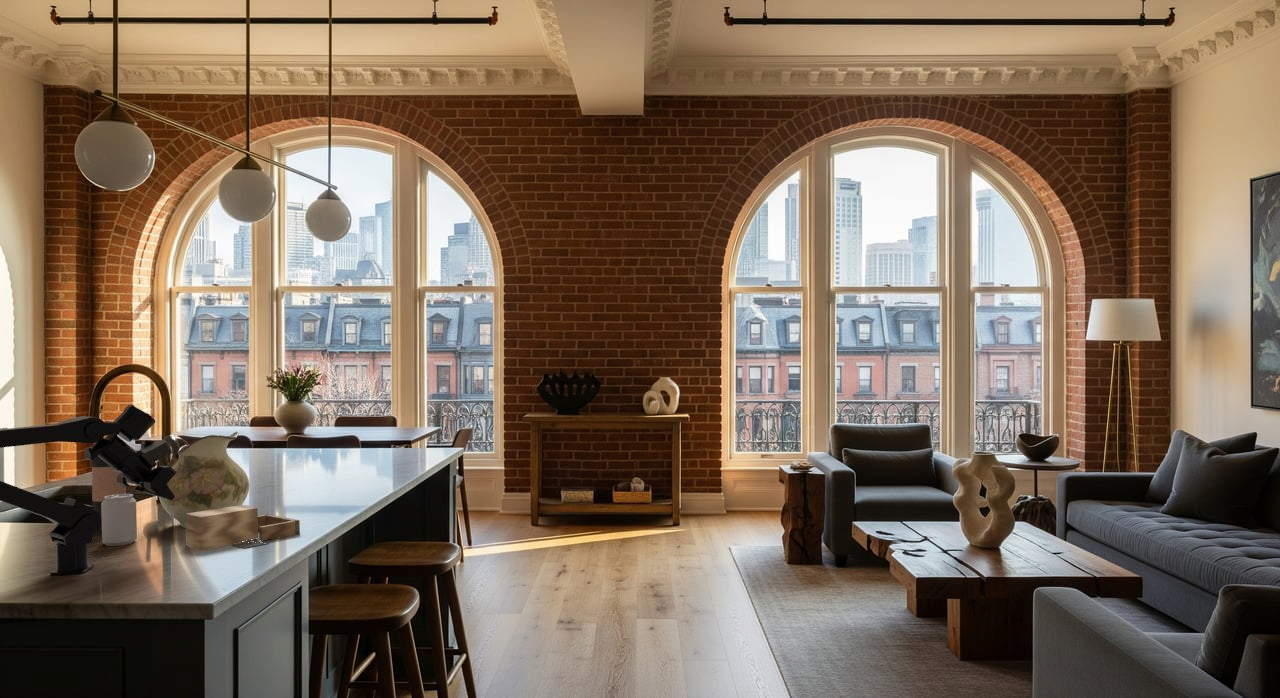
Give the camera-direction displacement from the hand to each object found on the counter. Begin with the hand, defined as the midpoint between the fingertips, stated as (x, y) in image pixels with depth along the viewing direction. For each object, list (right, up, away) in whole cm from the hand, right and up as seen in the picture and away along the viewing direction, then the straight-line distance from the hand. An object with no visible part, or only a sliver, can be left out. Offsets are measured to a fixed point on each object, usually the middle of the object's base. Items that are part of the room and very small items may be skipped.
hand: (172, 498), depth 208 cm
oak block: (+7, -13, +9) cm, 17 cm away
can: (-19, -13, +10) cm, 25 cm away
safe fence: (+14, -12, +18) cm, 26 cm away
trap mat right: (+16, -12, +6) cm, 21 cm away
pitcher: (-9, -13, +33) cm, 37 cm away
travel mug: (-30, -13, +25) cm, 42 cm away
